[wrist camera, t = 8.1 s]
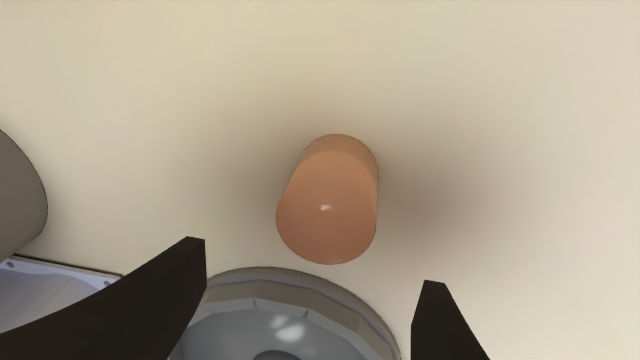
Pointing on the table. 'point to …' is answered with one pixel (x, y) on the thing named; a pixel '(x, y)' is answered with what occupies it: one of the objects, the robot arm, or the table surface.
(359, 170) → the terracotta bead
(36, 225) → the coffee mug
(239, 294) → the groove tray
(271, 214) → the table surface
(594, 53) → the table surface
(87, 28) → the table surface
